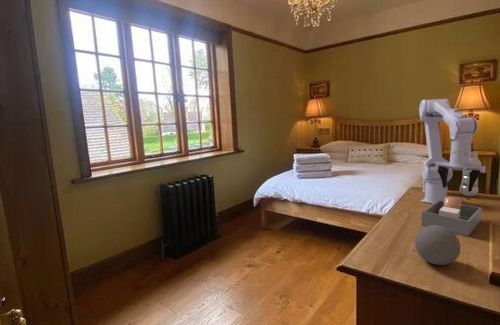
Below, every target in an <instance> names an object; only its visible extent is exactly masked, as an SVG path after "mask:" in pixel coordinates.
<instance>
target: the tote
mask: <svg viewBox="0 0 500 325" xmlns="http://www.w3.org/2000/svg"><path fill="white" fill-rule="evenodd" d="M443 206H444V201H441V200H438V201H436V202H435V203H433V204H432V203H431V205H429V206H428V207H426V208H425V209H424V210H422V211H421V223H420V224H421V226H423V227H426V226H430V225H438V226H442V227H445V228H447V229H449V230H450V231H452V232H453V233H454V234H455V235H459V236H463V237H467V238H468V237H469V236H470V235H471V234H472V233H473V231H474V230H476V227H477V226H478V225H479V224H480V222H481V220H482V210H483V207H480V206H475V205H468V204H464V203H461V210H460V219H458V218H453V217H448V216H443V215H439V210H440V209H441V208H442V207H443Z"/></svg>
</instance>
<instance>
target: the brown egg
mask: <svg viewBox="0 0 500 325" xmlns="http://www.w3.org/2000/svg"><path fill="white" fill-rule="evenodd" d="M461 204H462V198H460V197H455V196H447V197H445V198H444V207H449V208H454V209H460V210H461Z"/></svg>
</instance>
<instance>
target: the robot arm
mask: <svg viewBox="0 0 500 325" xmlns="http://www.w3.org/2000/svg"><path fill="white" fill-rule="evenodd" d="M418 111H419V112H418V113H419V118H420V121H422V123H424V124H423V125H424V132H425V137H426V147H427V148H426V149H427V154H428V159H426V160H425V161H424V162H423V163H422V165H421V177H422V180H423V179H424V180H425V181H426V189H425V193H424V198H422V199H421V200H420V202H422V203H427V204H428V203H429V204H431V205H432V204H433V203H435V202H436V201H438V200H441V201H444V198H445V197H448V195H447V194H448V183H449V181H450V180H451V179H452V178H453V170H461V171H463V170H468V171H471V172H470V173H469V187H468V191H470V192H471V191H472V188H473V185H474V183H475V181H476V180H477V178H478V179H479V176H480V175H481V174H482V173H485V172H486V165H481V166H480V165H473V164H469V163H470V153H471V150H472V140H473V134H475V133H476V132H477V129H478V122H477V120H476V118H475V117H467V116H466V115H465V114H464V113H462V112H461V111H460V110H459V109H458V108H452V106H451V104H450V100H449V99H448V98H437V99H435V98H434V99H422V100H421V101H420V103H419V108H418ZM441 121H443V122H444V123H445V124H446V125H448V129H449V133H450V134H449V135H450V137H449V138H450V140H451V142H450V143H451V144H450V145H451V146H450V155H449V161H448V160H447V159H445V158H444V157H443V152H442V145H441V136H440V135H441V134H440V129H439V128H440V127H439V122H441Z"/></svg>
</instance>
